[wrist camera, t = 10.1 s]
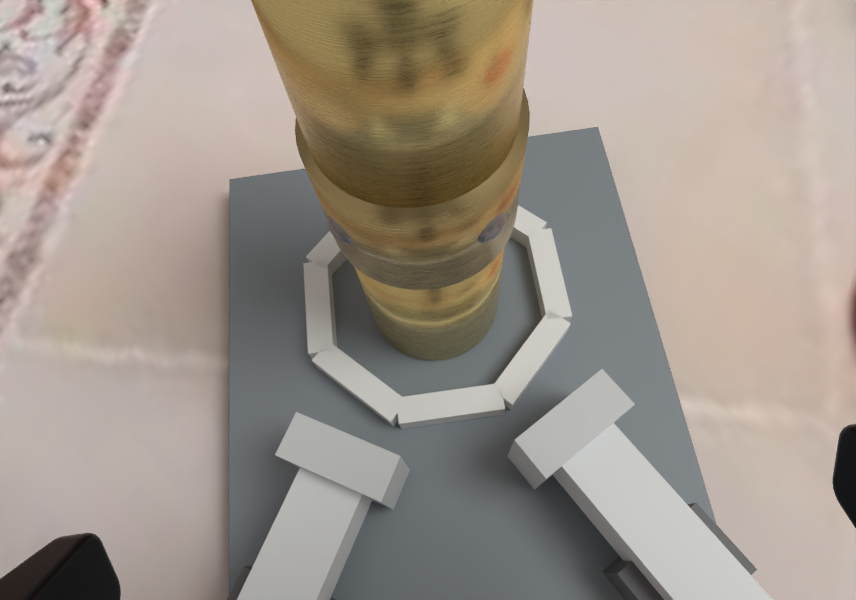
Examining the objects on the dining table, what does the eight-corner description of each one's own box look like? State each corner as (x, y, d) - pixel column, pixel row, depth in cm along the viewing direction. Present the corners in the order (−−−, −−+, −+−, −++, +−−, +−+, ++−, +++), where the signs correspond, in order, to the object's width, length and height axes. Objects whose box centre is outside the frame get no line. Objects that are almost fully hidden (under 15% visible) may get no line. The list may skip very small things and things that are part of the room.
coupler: (538, 300, 20) (666, -162, 7) (433, 402, 19) (359, 68, 6) (436, 212, 22) (390, -296, 9) (332, 301, 20) (105, -134, 8)
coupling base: (768, 761, 16) (872, 832, 12) (245, 833, 16) (170, 930, 12) (591, 146, 24) (617, 63, 20) (240, 196, 24) (194, 123, 20)
